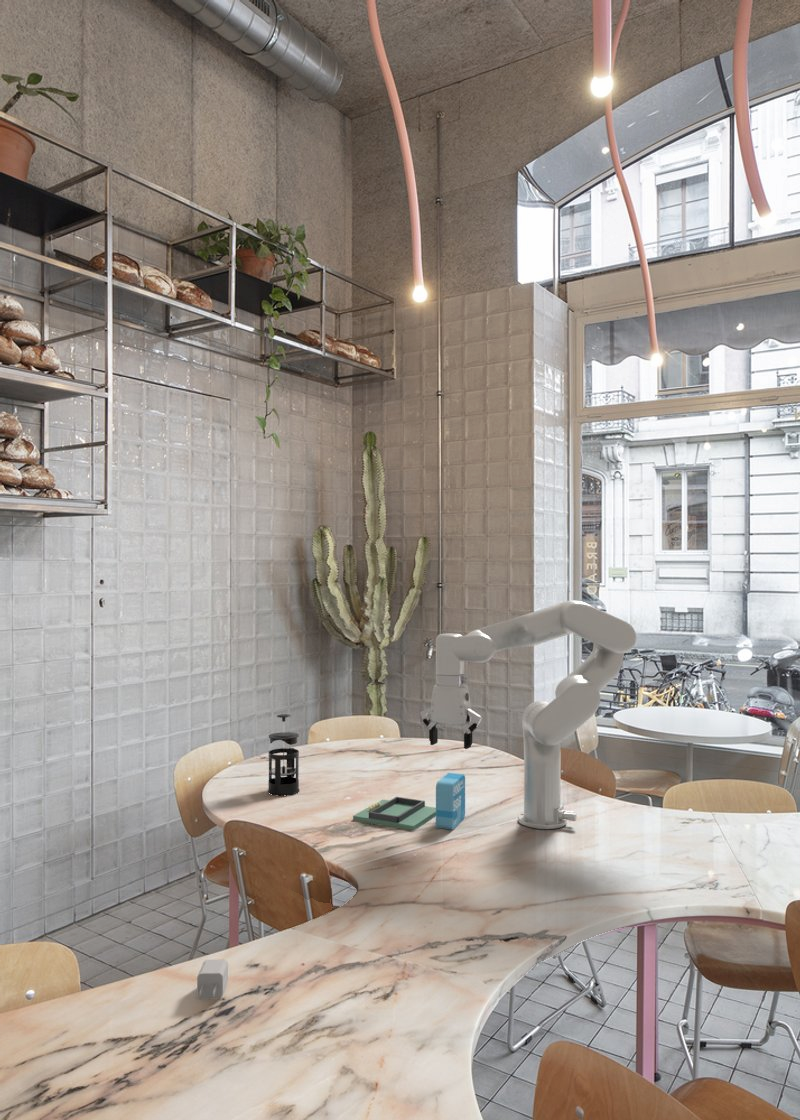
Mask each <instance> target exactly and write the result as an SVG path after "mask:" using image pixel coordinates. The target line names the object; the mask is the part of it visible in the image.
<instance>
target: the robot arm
mask: <svg viewBox="0 0 800 1120" xmlns="http://www.w3.org/2000/svg"><path fill="white" fill-rule="evenodd" d="M634 628H635V627H633V626H632V625H631V624H630V623H629V622H627V621H626V620H624V619H621V618H619V617H617V616H614V615H612V614H610V613H608V612H606V611H602V610H601V609H598V608H596V607H595V606H592V605H591V604H588V603H586V602H583V601H580V600H572V599H571V600H566V601H562V602H559V603H557V604H554V605H551V606H548V607H544V608H542V609H538V610H535V611H532V612H529V613H526V614H523V615H520V616H516V617H513V618H510V619H507V620H502V621H500V622H496V623H493V624H489V625H486V626H484V627H480V628H477V629H475V630H472V631H470V632H468V633H467V634H466V635H462V634H460V633H451V632H450V633H440V634H438V635H437V636H436V638H435V685H433V688H432V692H431V693H432V694H431V703H430V706H429V707H427V708H425V709H423V710H422V711H420V712H419V715H420V717H421V719H422V722H423V724H424V725H425V726H426V729H427V730H428V738H429V739H428V740H429V745H430V746H434V745H436V744H438V743H439V741H438V739H439V737H438V728H437V726H438V724H440V725H448V726H449V725H450V726H457V727H458V726H461V727H462V729H463V731H464V732H465V733H464V734H463V749H465V750H467V749H469V748H471V747H472V745H473V732H474V731H475V730H476V729H477V728H478V727H479V725H480V723H481V721H482V720H483V717H482V716H481V715H480V714H478V713H476V712H475V711H474V710H472V705H471V696H470V691H469V687H468V685H466V683H467V684H468V683H470V677H466V674H465V662H470V663H471V662H472V663H477V664H478V663H479V664H480V663H485V662H488V661H490V660H491V659H492V658H493V656H494V655H495V653H497V652H500V651H503V650H507V649H511V648H518V647H519V648H521V647H525V648H526V647H528V648H529V647H533V646H534V647H535V646H537V645H541V644H543V643H546V642H549V641H553V640H556V639H558V638H562V637H564V636H565V637H566V636H568V635H571V634H574V635H576V636H578V637H579V638H582V639H584V640H585V641H587V642H590V643H592V644H593V647H592V651H591V653H590V655H589V656H588V657H587V658H586V659H585V660H584V661H583V662H582V663H581V664H580V665H578V666H577V667H576V668H575V669H574V670H573V671H572V672H570V674H568V675H567V676H565V677H564V678H563V679H562V680H561V681H560V682H559V683H558V684H557V685H556V688H555V690H554V696H555V698H554V699H553V700H552V701H551V702H548V701H545V700H536V701H533V702H531V703H530V704H528V706H527V707H526V708H525V710H524V711H523V715H522V723H521V724H522V736H523V812H520V813H519V814H518V816H517V821H518V822H519V823H520V824H521V825H522V826H524V827H528V828H532V829H537V830H538V829H539V830H555V829H559V828H563V827H565V826H566V825H567V821H571V822H576V821H577V813H575V811H572V810H566V809H565V806H564V805H565V804H562V803H561V800H562V799H561V785H562V784H561V781H562V780H561V760H562V759H561V757H562V756H561V755H562V754H561V743H562V742H564V741H565V740H567V739H568V738H569V737H570V736H571V735H572V734H573V733H575V732H576V731H577V730H578V729H579V728H581V727H582V726H583V725H584V724H586V723H587V721H588V720H590V719H591V718H592V717H593V716H595V714H596V712H598V711H597V710H598V709H599V708H600V704H601V694H600V692H602V691H603V690H604V689H605V688H606V687H607V686H608V685H609V684H610V683H611V682H612V681H613V680H615V678H616V677H617V675H618V674H619V672H620V671H621V669H622V665H623V662H624V656H625V653H627V652H629V651H631V650H632V649H633V648H634V646H635V644H636V642H637V633H636V630H635V629H634ZM429 714H430V718H429V716H428V715H429ZM472 719H473V723H472V724H471V722H472ZM564 825H565V826H564Z"/></svg>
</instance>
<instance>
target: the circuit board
mask: <svg viewBox="0 0 800 1120" xmlns="http://www.w3.org/2000/svg"><path fill="white" fill-rule="evenodd" d="M434 818H436V807H432V806H428V805H427V806H426V801H425V800H420V799H413V798H407V797H401V796H395V797H393V798H392V799H390V800H388V799H380V800H379V801H377V802H375V803H374V804H371V805H370V806H368V807H367V808H364V809H363V810H361V811H359V812H357V813H356V814H354V815H352V820H353V821H355V820H357V821H356V822H360V821H362V822H361V823H366V822H368V823H367V824H372V823H374V824H373V825H379V826H384V827H389V828H390V827H391V828H397V829H401V830H402V829H403V830H407V831H413V832H414V831H416V830H417V829H419V828H420V827H421V826H423V825H424V824H426V823H428V822H430V821H431V820H433V819H434Z"/></svg>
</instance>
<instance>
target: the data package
mask: <svg viewBox="0 0 800 1120" xmlns="http://www.w3.org/2000/svg"><path fill="white" fill-rule="evenodd" d="M435 808H436V816H435V827H436V828H437V829H443V830H452V831H454V830H455V829H456V828H457V826H459V824H461V823H462V821H463V820H464V819H465V817H466V776H465V774H463V773H454V772H447V773H446V774H445V775H444V776H443V777H441V778H440V779H439V780H438V781H437V782H436V785H435Z"/></svg>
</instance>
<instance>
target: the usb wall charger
mask: <svg viewBox="0 0 800 1120" xmlns="http://www.w3.org/2000/svg"><path fill="white" fill-rule="evenodd" d="M228 981H229V962H228V960H226V959H221V958H220V959H205V960H204V961H203V962H202V965H201V967H200V969H199V971H198V974H197V977H196V996H197V998H198V999H200V1000H206V999H207V1000H208V999H210V1000H211V999H215V1000H217V999H221V998H222V997H223V995H224V993H225V989H226V987H227V984H228Z"/></svg>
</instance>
